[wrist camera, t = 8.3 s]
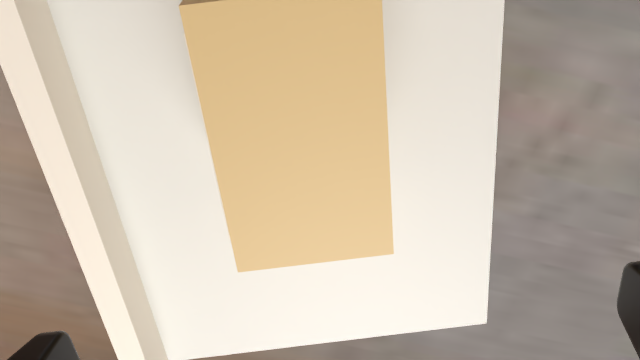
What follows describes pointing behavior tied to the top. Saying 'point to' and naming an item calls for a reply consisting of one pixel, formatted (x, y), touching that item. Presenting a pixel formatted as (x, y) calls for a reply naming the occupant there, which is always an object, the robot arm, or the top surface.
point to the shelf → (202, 190)
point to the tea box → (295, 126)
